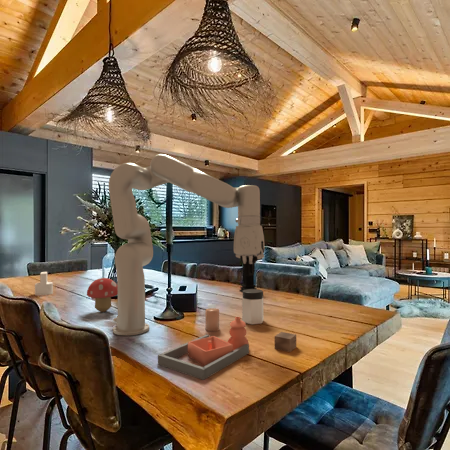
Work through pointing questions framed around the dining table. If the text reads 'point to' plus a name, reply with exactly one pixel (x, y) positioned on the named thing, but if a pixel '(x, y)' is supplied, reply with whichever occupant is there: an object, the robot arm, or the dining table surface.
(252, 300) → the jar
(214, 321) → the beige rounded cylinder
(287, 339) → the metal block
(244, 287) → the chess piece
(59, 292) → the dining table surface
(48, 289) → the white stepped block
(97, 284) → the decorative mushroom
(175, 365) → the corral
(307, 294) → the dining table surface
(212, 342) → the pottery
